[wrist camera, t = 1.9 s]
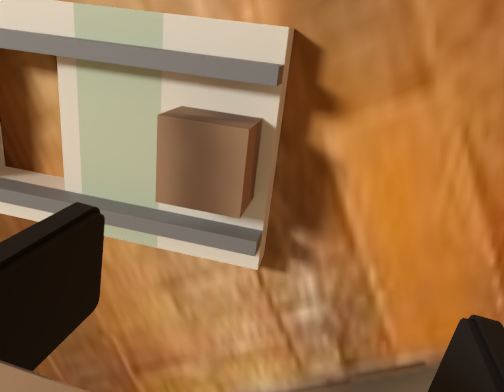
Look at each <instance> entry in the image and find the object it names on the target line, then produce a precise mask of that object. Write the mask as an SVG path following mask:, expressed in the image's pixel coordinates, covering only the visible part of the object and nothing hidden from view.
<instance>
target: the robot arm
mask: <svg viewBox="0 0 504 392" xmlns="http://www.w3.org/2000/svg"><path fill="white" fill-rule="evenodd" d="M104 226H105V217H104V215H103V214H100V210H99V208H98V207H94V206H91V205H87V204H84V203H80V202H76V203H73V204H72V205H70V206H68V207H66V208H64V209H62V210H60V211H58V212H57V213H55V214H53V215H51V216H49V217H47V218H45V219H43V220H42V221H40V222H38V223H36V224H34V225H32V226H30V227H28V228H27V229H25V230H23V231H21V232H19V233H17V234H15V235H13V236H12V237H10V238H8V239H6V240H4V241H2V242H0V392H90V391H87V390H84V389H81V388H78V387H76V386H73V385H70V384H67V383H64V382H61V381H58V380H55V379H53V378H50V377H47V376H44V375H41V374H38V373H35V372H33V370H34V369H35V368H36V367H37V366H38V365H39V364H40V363H41V362H42V361H43V360H44V359H45V358H46V357H47V356H48V355H49V354H50V353H51V352H52V351H53V350H54V349H55V348H56V347H57V346H58V345H59V344H60V343H61V342H63V341H64V340H65V339H66V338H67V337H68V336H69V335H70V334H71V333H72V332H73V331H74V330H75V329H76V328H77V327H78V326H79V325H80V324H81V323H82V322H83V321H84V320H85V319H86V318H87V317H88V316H89V315H90V314H91V313H92V312H93V311H94V310H95V308H96V306H97V304H98V301H99V297H100V283H101V268H102V254H103V240H104ZM428 392H504V327H503V326H502V324H501V323H500V322H498V321H495V320H491V319H488V318H484V317H481V316H477V315H471V316H470V317H469V319H466V318H462V319H461V320H460V322H459V323H458V326H457V328H456V330H455V332H454V335H453V337H452V339H451V341H450V343H449V346H448V348H447V350H446V352H445V355H444V357H443V359H442V361H441V363H440V366H439V368H438V370H437V372H436V375H435V377H434V379H433V381H432V384H431V386H430V388H429V390H428Z"/></svg>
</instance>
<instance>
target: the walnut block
mask: <svg viewBox="0 0 504 392" xmlns="http://www.w3.org/2000/svg"><path fill="white" fill-rule="evenodd" d="M262 121H263V118H257V117H251V116H244V115H238V114H231V113H225V112H218V111H212V110H205V109H199V108H192V107H186V106H180V107H177V108H175V109H172V110H169V111H166V112H164V113H161V114H158V115H157V156H156V198H155V202H158V203H163V204H168V205H173V206H178V207H183V208H188V209H193V210H198V211H203V212H208V213H213V214H218V215H223V216H228V217H233V218H238V219H240V218H241V216H242V215H243V213H244V212H245V210H246V209H247V207H248V206H249V204H250V203H251V201H252V200H253V198H254V189H255V181H256V172H257V164H258V155H259V147H260V138H261V130H262Z"/></svg>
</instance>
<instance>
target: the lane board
mask: <svg viewBox="0 0 504 392" xmlns="http://www.w3.org/2000/svg"><path fill="white" fill-rule="evenodd" d="M293 36H294V28H290V27H282V26H274V25H265V24H256V23H247V22H238V21H230V20H221V19H212V18H203V17H194V16H185V15H177V14H168V13H159V12H150V11H141V10H133V9H124V8H115V7H106V6H97V5H88V4H80V3H71V2H62V1H53V0H0V48H5V49H12V50H19V51H26V52H33V53H41V54H48V55H55V56H57V69H58V85H59V101H60V117H61V133H62V149H63V165H64V178H63V177H58V176H53V175H48V174H43V173H38V172H33V171H28V170H23V169H18V168H13V167H8V166H5V158H4V149H3V141H2V132H1V124H0V213H2V214H6V215H11V216H15V217H20V218H25V219H29V220H34V221H38V222H40V221H42V220H43V219H45V218H47V217H49V216H51V215H53V214H55V213H57V212H58V211H60V210H62V209H64V208H66V207H68V206H70V205H72V204H73V203H76V202H80V203H84V204H87V205H91V206H94V207H98V208H99V210H100V214H103V215H104V217H105V226H104V236H106V237H111V238H115V239H120V240H124V241H129V242H133V243H138V244H142V245H147V246H151V247H156V248H161V249H165V250H170V251H174V252H179V253H183V254H188V255H192V256H197V257H201V258H206V259H210V260H215V261H219V262H224V263H229V264H233V265H238V266H242V267H247V268H251V269H256V270H258V268H259V265H260V263H261V261H262V258H263V256H264V251H265V243H266V236H267V229H268V221H269V214H270V206H271V199H272V191H273V184H274V177H275V169H276V162H277V154H278V147H279V140H280V132H281V125H282V117H283V110H284V103H285V95H286V88H287V80H288V73H289V65H290V58H291V51H292V43H293ZM180 106H186V107H192V108H199V109H205V110H212V111H218V112H225V113H231V114H238V115H244V116H251V117H257V118H263V121H262V130H261V138H260V147H259V155H258V164H257V172H256V181H255V189H254V198H253V200H252V201H251V203H250V204H249V206H248V207H247V209H246V210H245V212H244V213H243V215H242V216H241V218H240V219H238V218H233V217H228V216H223V215H218V214H213V213H208V212H203V211H198V210H193V209H188V208H183V207H178V206H173V205H168V204H163V203H158V202H155V198H156V156H157V115H158V114H161V113H164V112H166V111H169V110H172V109H175V108H177V107H180Z"/></svg>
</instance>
